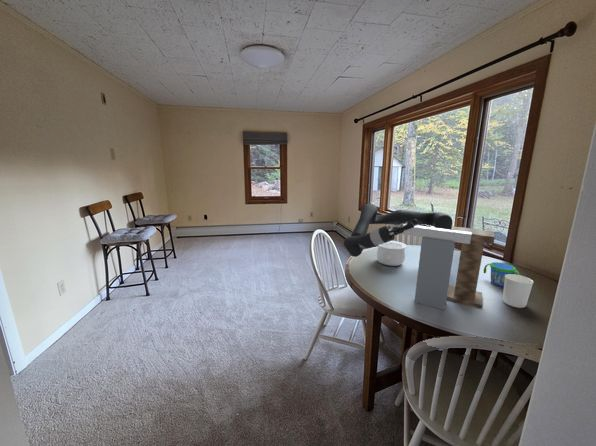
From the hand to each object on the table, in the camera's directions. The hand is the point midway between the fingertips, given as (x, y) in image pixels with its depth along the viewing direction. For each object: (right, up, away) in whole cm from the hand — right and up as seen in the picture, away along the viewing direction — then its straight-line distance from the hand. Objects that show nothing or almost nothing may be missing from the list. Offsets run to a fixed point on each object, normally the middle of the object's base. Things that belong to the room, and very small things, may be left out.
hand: (415, 222), depth 117 cm
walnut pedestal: (+25, -35, +8) cm, 44 cm away
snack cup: (+54, -32, +22) cm, 66 cm away
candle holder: (+46, -37, +2) cm, 59 cm away
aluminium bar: (+7, -6, -3) cm, 10 cm away
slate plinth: (+8, -36, +2) cm, 37 cm away
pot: (+6, -26, +50) cm, 56 cm away
